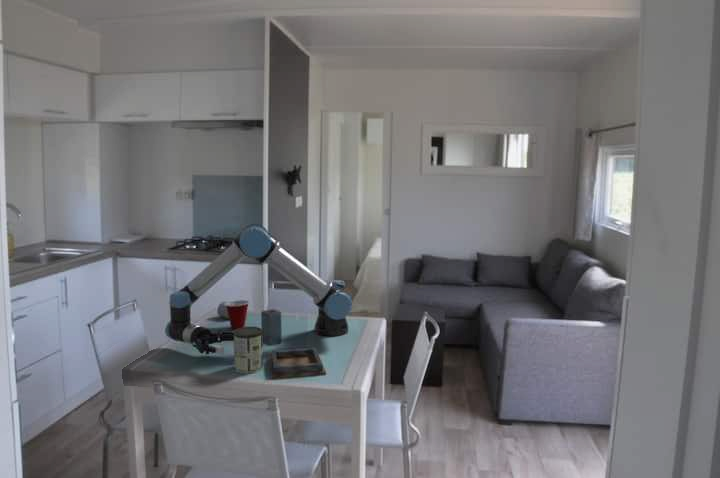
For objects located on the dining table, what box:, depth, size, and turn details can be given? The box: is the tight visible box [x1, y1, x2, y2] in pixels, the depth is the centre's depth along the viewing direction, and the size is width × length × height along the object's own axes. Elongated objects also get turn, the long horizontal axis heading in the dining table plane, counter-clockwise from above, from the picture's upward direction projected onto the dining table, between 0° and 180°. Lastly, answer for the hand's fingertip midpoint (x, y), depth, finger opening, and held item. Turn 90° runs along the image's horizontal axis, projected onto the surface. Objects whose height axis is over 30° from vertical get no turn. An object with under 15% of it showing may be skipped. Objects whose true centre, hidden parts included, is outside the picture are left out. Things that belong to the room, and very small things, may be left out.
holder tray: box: [268, 347, 327, 380], centre depth 193 cm, size 19×19×4 cm
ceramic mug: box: [217, 301, 229, 320], centre depth 254 cm, size 11×8×8 cm
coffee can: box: [232, 326, 264, 374], centre depth 190 cm, size 10×10×14 cm
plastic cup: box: [225, 299, 250, 331], centre depth 237 cm, size 11×11×12 cm
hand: (237, 346), depth 192 cm, fingers open, 13 cm apart
